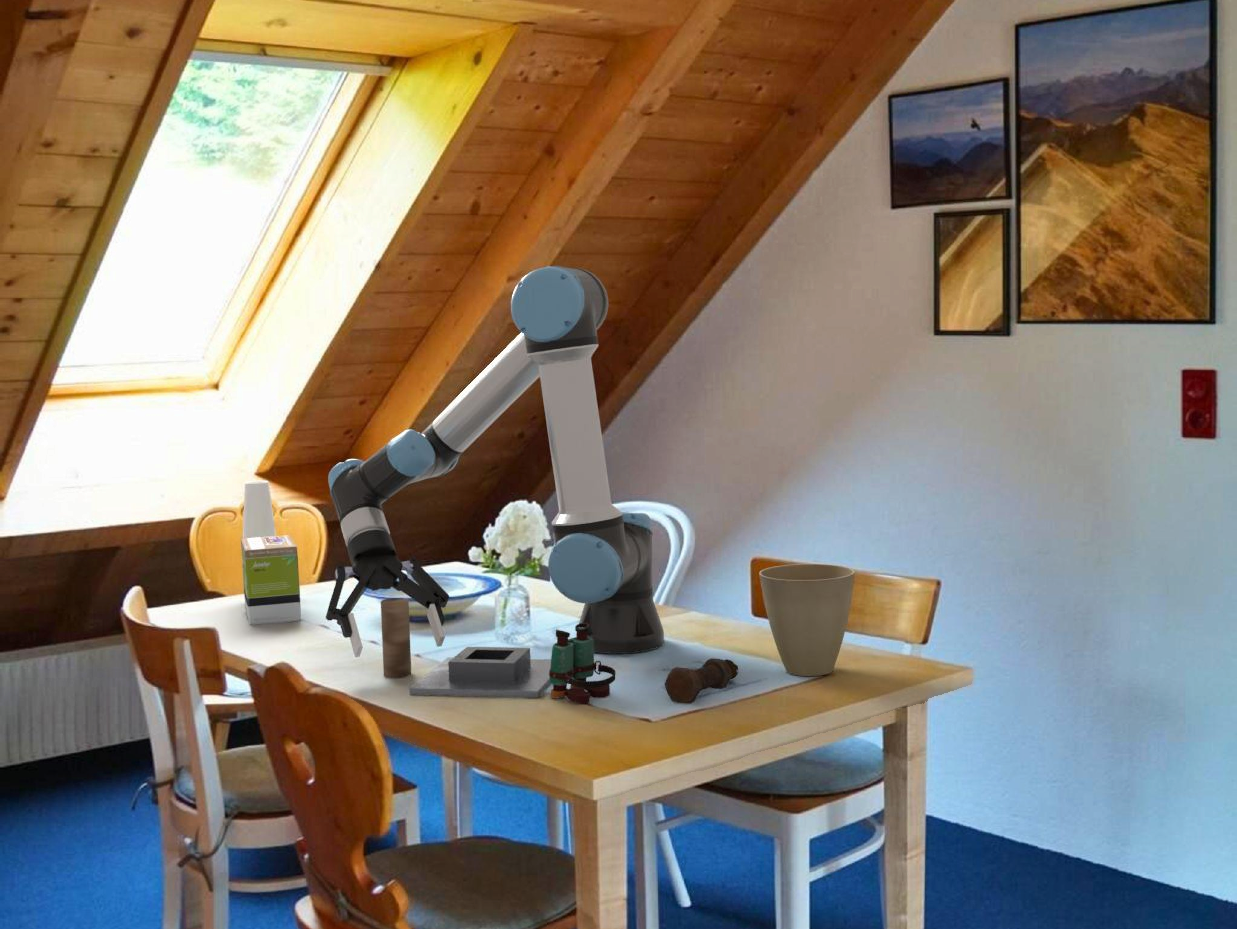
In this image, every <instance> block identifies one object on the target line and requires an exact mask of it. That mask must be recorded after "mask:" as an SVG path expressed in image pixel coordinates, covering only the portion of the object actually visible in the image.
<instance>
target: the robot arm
mask: <svg viewBox="0 0 1237 929" xmlns="http://www.w3.org/2000/svg"><path fill="white" fill-rule="evenodd" d="M608 310H609V296H608V292H607V290H606V288H605V286H604V284H603V282H602V281H601V280H600V279H599V278H598V277H597V276H596V275H595V274H594V273H593V272H590V271H589V270H587V269H584V268H579V267H565V266H560V265H552V266H550V265H547V266H546V267H540V268H537V269H535V270H532V271H530V272H528V273H527V274H526V275H524V276H523V277H522V278H521V279H520V281H518V283H517V285H516V286H515V288H514V290H513V293H512V296H511V300H510V313H511V317H512V321H513V322H514V324H515V326H516V328H517V329H518V331H519V332H520V333H519V334H518V335H517V336H516V337H515V338H514V339H513V340H512V341H511V342H510V343H509V344H508V345H507V346H506V348H505V349H503V351H501V352H500V354H498V355H497V357H495V358H494V360H493V361H492V362H491V363H490V364H489V365H487V366H486V368H484V370H482V372H481V373H479V375H478V376H476V378H475V379H473V381H471V383H470V384H468V385H467V386H466V387H465V389H464V390H463V391H462V392H460V394H459V395H458V396H457V397H455V399H454V400H453V401H452V402H451V403H449V405H448V406H447V407H446V408H445V409H444V410H443V411H442V412H441V413H440V414H439V415H438V416H436V418H435V419H434V420H433V421H432V422H431V423H430V424H429V425H428V426H427V427H426V429H424V430H423V431H422V432H419V431H416V430H415V429H411V428H410V429H409V428H408V429H406V430H404V431H403V432H400V434H398V435H397V436H393V437H392V438H391V439H390V441H389V442H387V443H386V444H385V445H383V447H381V448H380V449H379V450H378V451H375V453H374V454H373V455H371V456H369V457H368V458H367V459H366V460H365V461H364V460H362V459H358V458H349V459H346V460H345V461H344V462H338V463H337V464H336V465H334V466H333V467H332V468H331V470H330V471H329V473H328V477H327V479H328V480H327V482H328V486H329V491H330V497H331V498H330V499H331V500H332V502H333V504H334V508H335V511H336V514H337V517H338V520H339V524H340V525H339V526H340V528H341V532H342V536H343V539H344V543H345V546H346V548H347V549H346V550H347V554H348V557H349V561H350V563H351V566H345V564H343V563H338V564H337V565H336V569H335V572H334V579H335V584H334V585H335V586H334V588H333V591H332V594H331V597H330V601H329V604H328V608H327V610H326V615H325V619H326V620H327V621H330V622H331V621H333V620H335V621H336V624H337V625H339V626H340V629H341V633H342V636H343V637H344V638H346V639H347V638H349V640H350V644H351V647H352V651H353V654H354V657H355V658H359V657H360V656H361V654H362V650H363V643H362V639H361V637H360V633H359V629H358V626H357V622H356V621H357V620H356V619H355V618H356V617H355V614H354V613H353V609H354V608H355V606H356V605H357V604H358V602H359V600H360V599H361V597H362V596H363V595H364V594H365V591H366V590H367V589H368V590H371V591H372V592H374V591H378V590H390V589H391V588H393V589H394V590H396V591H397V592H402V593H403V594H405V595H406V596H407V597H409V598H411V599H412V600H414V601H415V602H417V603H419V604H420V605H422V606H423V607H424V608H426V610H427V611H426V616H427V619H428V623H429V626H430V629H431V632H432V634H433V638H434V641H435V645H436V648H437V647H442V646H443V644H444V640H445V638H446V635H445V632H444V629H443V626H444V623H445V619H446V618H445V616H444V613H443V610H442V608H446V606H447V605H448V601H449V598H450V595H449V593H448V592H446V590H444V588H442V586H441V585H440V584H439V583H438V582H436V580H435V579H434V578H433V577H432V576H431V575H430V574H429V573H428V572H427V571H426V570H425V569H424V568H423V567H422V566H421V564H420V562H419V560H418V558H417V557H416V556H411V557H410V559H409V560H405V561H401V560H400V559H399V558H398V556H397V551H396V547H395V545H394V541H393V539H392V535H391V532H390V528H389V526H388V522H387V520H386V516H385V513H384V510H383V505H382V504H383V503H384V502H386V501H387V500H388V499H391V498H392V496H394V495H396V493H398V492H399V491H400V490H402V489H404V488H405V487H407V486H408V485H409V484H414V483H416V482H420V481H424V480H426V479H427V480H428V479H431V478H438V477H442V476H444V475H445V474H447V473H449V472H450V471H452V470H453V469H454V468H455V467H456V465H457V464H458V462H459V458H460V456H461V455H462V454H463V453H464V452H465V451H466V450H467V449H468V448H469V447H470V446H471V445H472V444H473V443H474V442H475V441H476V440H477V438H479V437H480V436H481V435H482V434H483V433H484V432H485V431H486V430H487V429H488V428H490V426H491V425H492V424H493V423H494V422H495V421H496V420H497V419H498V418H499V417H500V416H501V415H502V414H503V413H504V412H505V411H506V410H507V409H508V408H509V407H510V406H511V405H512V404H513V403H514V402H516V400H518V398H519V397H521V396H522V395H523V393H525V392H526V391H527V389H528V388H530V387H531V386H532V385H533V384H534V383H535V382H536V381H537V380H538V379H539V380H540V381H539V382H540V387H541V395H542V399H543V400H542V401H543V407H544V413H545V421H546V429H547V435H548V436H547V437H548V442H549V450H550V456H551V457H550V458H551V464H552V472H553V476H554V483H555V484H554V485H555V491H556V492H555V493H556V497H557V498H556V499H557V505H558V512H557V514H556V515H555V517H554V518H553V520H552V521H551V529H552V539H553V544H554V545H553V547H552V549H551V550H550V554H549V557H548V561H547V562H548V563H547V564H548V566H547V568H548V569H547V570H548V574H549V576H550V579H551V580H550V581H551V583H553V586H554V587H555V589H556V590H557V591H558V592H559V593H560V594H561V595H563V596H564V597H565V598H567V599H569V600H571V601H573V602H575V603H577V604H578V603H579V604H584V605H583V608H582V612H581V616H580V618H579V622H578V624H580V623H588V624H589V632H587V637H590V638H592V639H593V641H594V653H600V654H635V653H641V652H648V651H651V650H655V649H657V648H660V647H662V646H663V645H664V644H665V631H664V628H663V624H662V621H661V618H660V616H659V615H660V614H659V613H658V610H657V607H656V604H655V602H654V595H653V594H654V592H653V591H654V588H653V587H654V585H653V583H654V581H653V580H654V579H653V533H654V531H653V529H652V520H651V517H650V515H648V514H647V513H644V512H622V511H621V510H619V509H618V508H617V507H616V506H615V505H613V503H612V499H611V498H612V497H611V491H610V484H609V477H608V471H607V463H606V455H605V449H604V442H603V434H602V427H601V421H600V420H601V419H600V414H599V407H598V399H597V391H596V384H595V377H594V371H593V370H594V369H593V364H592V357H593V354H594V353H596V352H595V351H596V350H597V349H598V348H599V340H598V333H597V332H598V329H600V328H601V326H602V325H603V323H604V321H605V320H606V319H607V314H608ZM403 571H405V572H406V573H405V572H403ZM408 575H409V576H411V578H412V579H413V580H414V581H413V580H412V579H410V578H409V576H408ZM350 576H352V578H354V579H355V580H357V581H358V582H357V584H356V585H355V587H354V588H353V590H352V591H351V593H350V594H349V596H348V597H347V599H346V601H345V602H344V603H343V604H342V606H341V608H337V606H338V603H339V600H340V598H341V594H342V590H343V587H344V583H345V582H346V581H348V580H349V577H350ZM351 612H352V613H351ZM575 632H576V631H575ZM575 634H576V636H575V637H577V632H576V633H575Z"/></svg>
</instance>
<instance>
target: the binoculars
mask: <svg viewBox="0 0 1237 929" xmlns="http://www.w3.org/2000/svg"><path fill="white" fill-rule="evenodd" d="M574 629H575V632H577V637H576V636H575V637H570V636H571V633H570V632H568V631H564V630H559V629H556V630H555V637H556V638H557V639H556V642H555V643H553V645H552V649H551V666H550V670H549V676H550V679H549V682H550V683H551V684H550V685H553V688H552V689H550V691H549V692H550V694H549V695H550V698H552V699H563V698H565V697H566V698H567V699H568V701H570V702H572V703H575V704H581V705H582V704H585V705H586V704H589V703H590V699H591V698H595V699H604V698H607V697H608V696H610V691H611V686H610V685H611V684H612V683H614V682H615V680H616V669H614V668H613V667H611V666H608V665H604V664H602V661H600V660H596V661H595V652H594V641H593V639H592V638H590V637H587V632H589V624H588V623H580V624H579V623H577V624H576V625H575V627H574ZM597 663H599V664H597ZM601 673H606V674H610V675H612V676H610V677H608V678H605V679H601V680H589V681H588V680H587V678H591V677H593V676H594V674H597V675H601ZM568 685H570V686H569V688H567V686H568Z"/></svg>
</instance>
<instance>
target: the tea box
mask: <svg viewBox="0 0 1237 929" xmlns="http://www.w3.org/2000/svg"><path fill="white" fill-rule="evenodd" d="M240 548H241V550H240V551H241V565H242V566H241V567H242V578H243V579H242V580H243V596H244V608H245V614H246V617H247V620H248V624H249V625H250V626H254V625H255V626H256V625H267V624H278V623H289V622H298V621H302V607H301V604H302V603H301V590H300V576H299V575H300V573H299V557H298V554H299V553H298V546H297V544H296V543H295V542H294V540H293V538H292V537H291V535H290V534H287V535H286V534H285V535H284V534H283V535H276V536H266V537H256V538H246V539H244V538H240Z"/></svg>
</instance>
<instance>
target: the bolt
mask: <svg viewBox="0 0 1237 929" xmlns="http://www.w3.org/2000/svg"><path fill="white" fill-rule="evenodd" d="M738 674H739V665H737V664H736V663H735V662H734V661H733V660H731V659H727V658H726V659H721V658H714V657H713V658H708V659H707V660H706V661H705V662H704V664H703V665H702V666H701V667H700V668H697V669H694V668H689V667H688V668H687V667H680V666H675V667H672V669H671V670H670V671H669V673H668V674H667V676H666V678H665V681H664V688H665V691H666V694H667V696H668V698H670V700H671V701H672V702H674V703H677V704H686V705H687V704H689V705H690V704H693V703H695V702H696V700H697V699H698V696H699V694H700V692H701V691H704V690H707V689H715V690H722V689H725V688H726V687H727V686H728V685H729V683H730V681H732V680H733V679H735V678H737V676H738Z"/></svg>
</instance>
